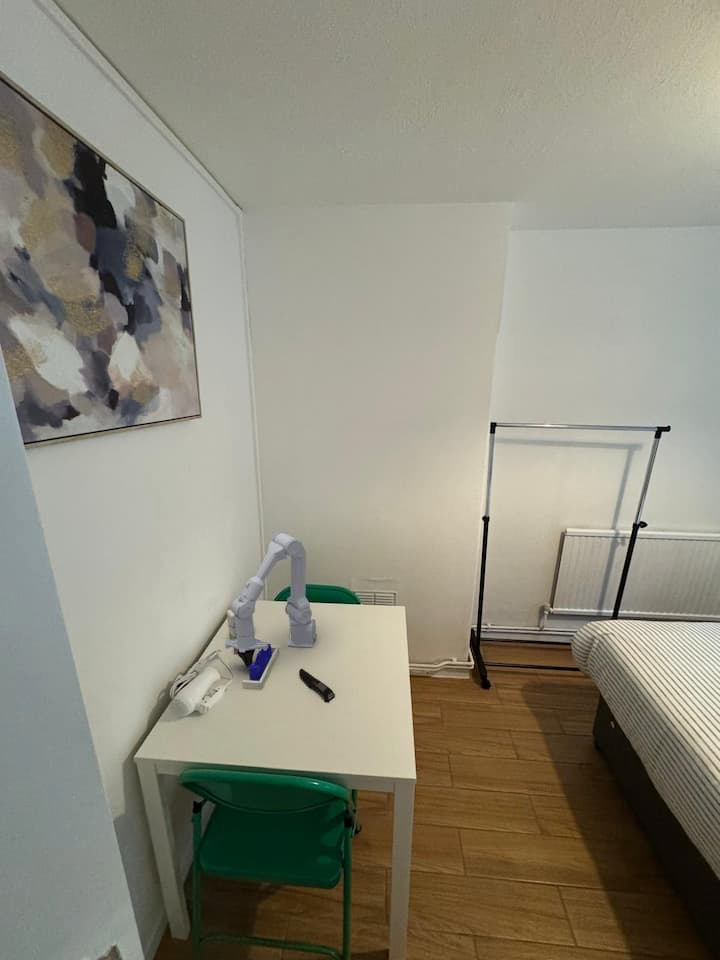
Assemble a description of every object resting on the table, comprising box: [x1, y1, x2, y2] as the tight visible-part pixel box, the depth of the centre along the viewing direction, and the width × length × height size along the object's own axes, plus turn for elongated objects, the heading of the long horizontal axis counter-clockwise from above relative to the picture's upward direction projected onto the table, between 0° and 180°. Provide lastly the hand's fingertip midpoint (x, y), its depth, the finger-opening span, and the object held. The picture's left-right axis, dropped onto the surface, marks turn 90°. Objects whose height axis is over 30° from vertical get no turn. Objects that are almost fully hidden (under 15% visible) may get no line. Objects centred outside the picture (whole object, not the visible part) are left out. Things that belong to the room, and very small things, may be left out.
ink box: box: [226, 609, 256, 640], centre depth 147 cm, size 9×5×12 cm, turn 129°
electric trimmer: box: [298, 668, 336, 703], centre depth 121 cm, size 4×16×3 cm, turn 46°
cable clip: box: [248, 643, 273, 681], centre depth 129 cm, size 12×4×6 cm, turn 172°
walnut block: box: [233, 638, 238, 655], centre depth 140 cm, size 4×4×4 cm
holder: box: [241, 645, 280, 690], centre depth 130 cm, size 6×18×2 cm, turn 173°
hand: (249, 665), depth 130 cm, fingers closed
